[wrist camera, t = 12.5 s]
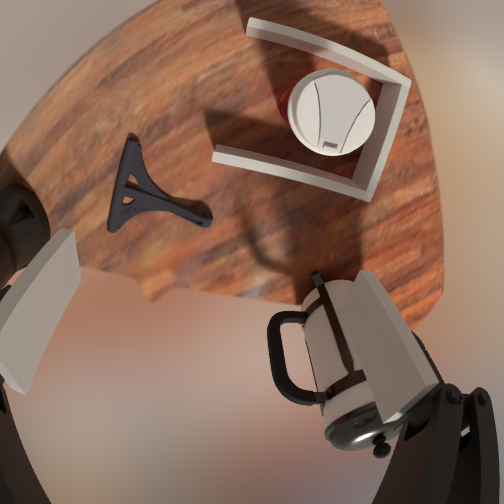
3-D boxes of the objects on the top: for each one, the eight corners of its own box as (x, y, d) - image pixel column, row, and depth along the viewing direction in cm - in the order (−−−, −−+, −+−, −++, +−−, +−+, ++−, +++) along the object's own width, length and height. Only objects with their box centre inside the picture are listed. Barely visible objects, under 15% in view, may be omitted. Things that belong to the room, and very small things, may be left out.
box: (215, 152, 33) (211, 161, 29) (248, 27, 25) (249, 17, 20) (355, 189, 37) (369, 202, 33) (391, 80, 28) (411, 80, 24)
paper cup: (322, 140, 33) (367, 168, 21) (264, 128, 32) (282, 148, 20) (334, 86, 29) (388, 84, 17) (276, 71, 28) (301, 55, 16)
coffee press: (355, 244, 42) (450, 412, 16) (374, 306, 50) (434, 441, 24) (259, 288, 45) (280, 474, 20) (295, 340, 53) (322, 483, 28)
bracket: (196, 256, 42) (194, 267, 40) (109, 225, 39) (102, 234, 36) (231, 172, 36) (231, 178, 33) (130, 136, 32) (123, 140, 30)
